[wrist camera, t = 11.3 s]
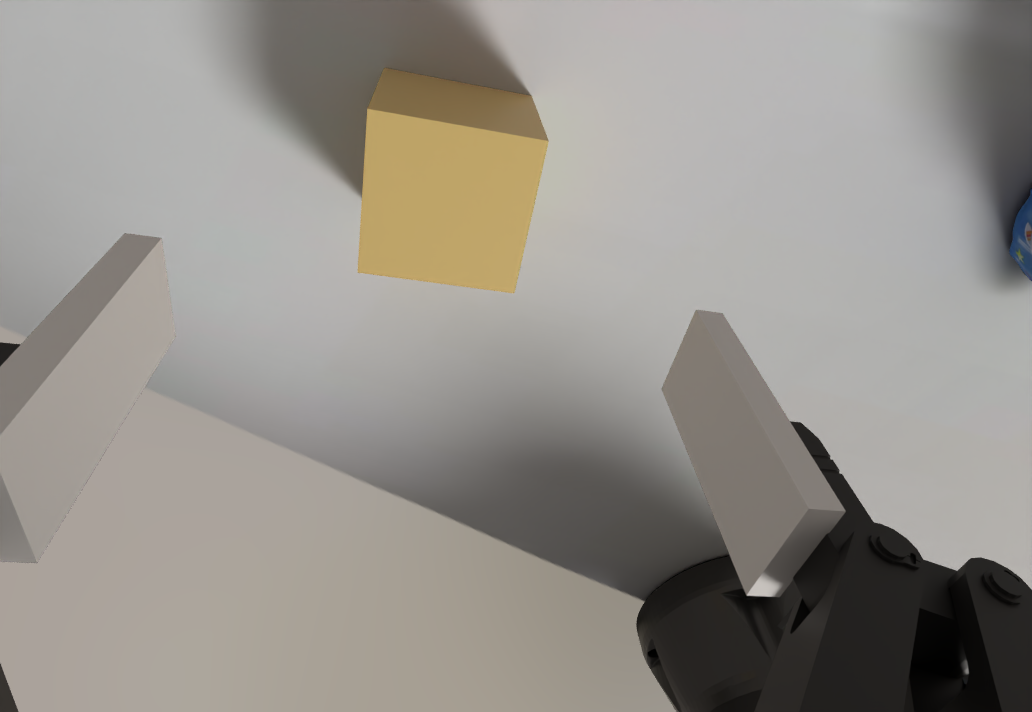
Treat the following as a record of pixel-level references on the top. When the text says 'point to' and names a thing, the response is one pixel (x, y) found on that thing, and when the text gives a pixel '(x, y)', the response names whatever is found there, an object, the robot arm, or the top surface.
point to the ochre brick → (448, 181)
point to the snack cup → (1023, 238)
